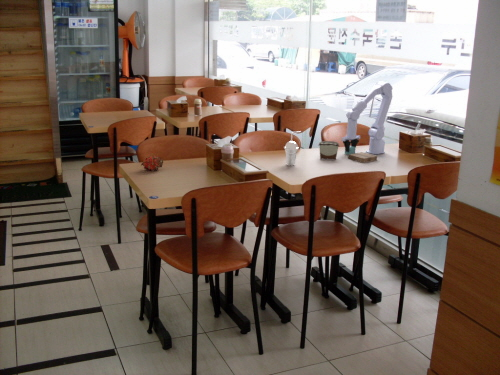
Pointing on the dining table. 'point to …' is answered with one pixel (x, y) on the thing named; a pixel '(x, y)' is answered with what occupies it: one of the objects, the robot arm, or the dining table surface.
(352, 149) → the teal cube
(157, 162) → the dragon fruit
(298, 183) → the dining table surface
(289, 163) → the cup with straw
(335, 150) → the food container
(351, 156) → the walnut block
